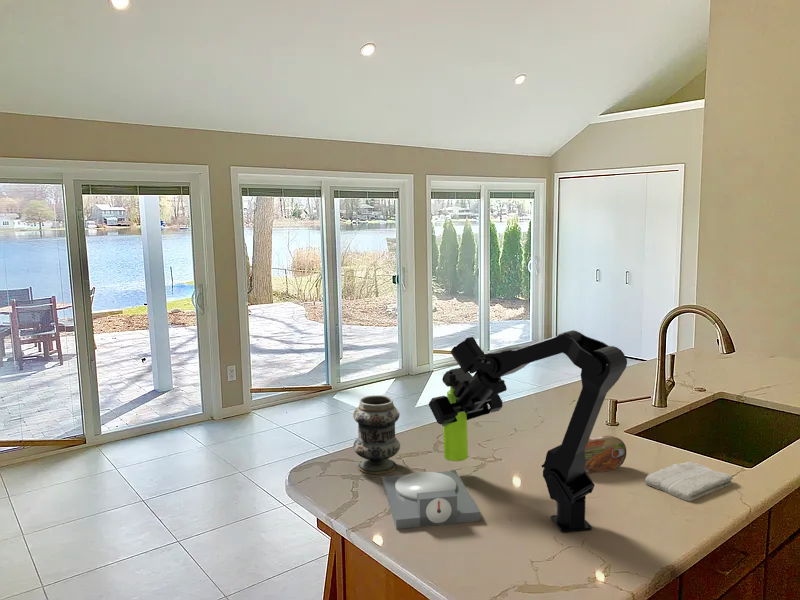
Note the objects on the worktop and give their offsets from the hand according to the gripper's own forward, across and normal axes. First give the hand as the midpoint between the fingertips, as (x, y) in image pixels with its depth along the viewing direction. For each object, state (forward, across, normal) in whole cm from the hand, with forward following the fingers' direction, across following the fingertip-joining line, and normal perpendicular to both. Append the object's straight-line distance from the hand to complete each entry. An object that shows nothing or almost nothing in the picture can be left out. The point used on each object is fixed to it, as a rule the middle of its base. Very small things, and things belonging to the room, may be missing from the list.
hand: (452, 422), depth 157 cm
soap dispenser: (+5, 0, +7) cm, 9 cm away
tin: (-4, -31, +23) cm, 39 cm away
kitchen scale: (+3, +14, +16) cm, 22 cm away
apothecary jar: (+19, +14, -1) cm, 24 cm away
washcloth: (-16, -42, +36) cm, 58 cm away
